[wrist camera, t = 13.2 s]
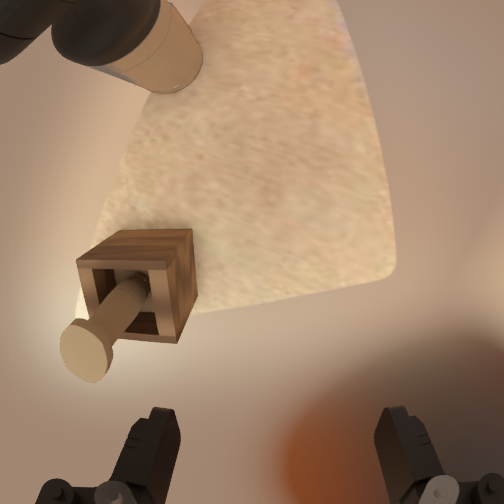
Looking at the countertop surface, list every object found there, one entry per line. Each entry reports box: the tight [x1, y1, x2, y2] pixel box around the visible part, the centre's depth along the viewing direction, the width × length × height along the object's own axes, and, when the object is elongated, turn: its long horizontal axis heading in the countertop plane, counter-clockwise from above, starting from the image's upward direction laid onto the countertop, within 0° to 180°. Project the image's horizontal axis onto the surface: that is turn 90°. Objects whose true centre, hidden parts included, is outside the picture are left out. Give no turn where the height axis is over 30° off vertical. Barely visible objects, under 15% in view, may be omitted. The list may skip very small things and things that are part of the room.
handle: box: [60, 273, 151, 383], centre depth 30 cm, size 5×6×15 cm
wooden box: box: [76, 229, 198, 344], centre depth 38 cm, size 10×11×12 cm
